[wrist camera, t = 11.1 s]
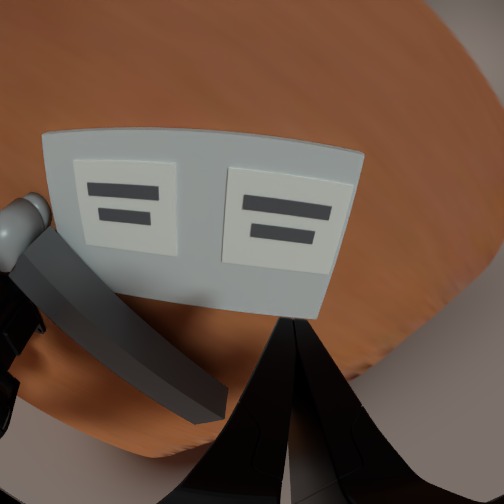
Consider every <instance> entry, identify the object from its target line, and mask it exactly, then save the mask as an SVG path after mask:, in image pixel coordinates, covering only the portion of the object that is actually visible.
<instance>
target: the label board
mask: <svg viewBox="0 0 504 504" xmlns="http://www.w3.org/2000/svg"><path fill="white" fill-rule="evenodd" d="M42 144H43V153H44V161H45V169H46V176H47V182H48V189H49V194H50V200H51V205H52V210H53V215H54V220H55V224H56V229H57V233H58V235H59V236H60V237H61V238H62V239H63V240H64V241H65V242H66V244H67V245H68V246H69V247H70V248H71V249H72V250H73V251H74V252H75V253H76V255H77V256H78V257H79V258H80V259H81V260H82V261H83V262H84V263H85V264H86V265H87V266H88V267H89V268H90V269H91V270H92V271H93V272H94V273H95V274H96V276H97V277H98V278H99V279H100V280H101V281H102V282H103V283H104V284H105V285H106V286H108V287H109V288H110V289H111V290H112V291H113V292H114V293H120V294H125V295H131V296H137V297H143V298H148V299H154V300H161V301H167V302H173V303H180V304H187V305H194V306H201V307H208V308H215V309H223V310H231V311H239V312H247V313H256V314H265V315H275V316H285V317H296V318H307V319H317V316H318V313H319V311H320V308H321V305H322V302H323V299H324V296H325V293H326V290H327V287H328V284H329V281H330V278H331V275H332V272H333V269H334V266H335V262H336V259H337V256H338V253H339V250H340V246H341V243H342V240H343V236H344V233H345V229H346V226H347V222H348V219H349V215H350V212H351V208H352V204H353V200H354V197H355V193H356V189H357V185H358V181H359V177H360V173H361V169H362V165H363V161H364V156H365V155H364V154H363V153H362V152H361V151H356V150H351V149H346V148H341V147H336V146H331V145H326V144H320V143H314V142H308V141H302V140H296V139H289V138H282V137H275V136H267V135H259V134H250V133H240V132H230V131H218V130H204V129H186V128H153V127H124V128H93V129H76V130H62V131H51V132H47V133H44V134H42ZM23 198H25V199H27V200H29V201H30V202H31V203H32V204H33V205H34V206H35V207H36V209H37V210H38V212H39V214H40V216H41V218H42V221H43V231H44V230H45V229H46V228H47V227H49V225H50V224H51V220H52V214H51V209H50V207H49V205H48V203H47V201H46V200H45V199H44V198H43V197H42V196H41V195H40V194H38V193H35V192H31V193H28V194H27V195H26V196H24V197H23Z"/></svg>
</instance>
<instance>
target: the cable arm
mask: <svg viewBox="0 0 504 504" xmlns="http://www.w3.org/2000/svg"><path fill="white" fill-rule="evenodd" d="M12 268H13V269H12ZM11 269H12V270H11ZM10 270H11V272H10V274H9V275H8V276H9V277H10V278H11V279H12V280H13V282H14V283H15V284H16V285H17V286H18V287H19V288H20V289H21V290H22V291H23V292H24V293H25V294H26V296H27V297H28V298H29V299H30V300H31V301H32V302H33V303H34V304H35V305H36V306H37V307H38V308H39V309H40V310H41V311H42V312H43V313H44V314H45V315H46V316H47V317H49V318H50V319H51V320H52V321H53V322H54V323H55V324H56V325H57V326H58V327H59V328H60V329H61V330H63V331H64V332H65V333H66V334H67V335H68V336H69V337H71V338H72V339H73V340H74V341H75V342H76V343H77V344H79V345H80V346H81V347H82V348H83V349H85V350H86V351H87V352H88V353H90V354H91V355H92V356H93V357H95V358H96V359H97V360H98V361H100V362H101V363H102V364H103V365H105V366H106V367H107V368H109V369H110V370H111V371H113V372H114V373H115V374H117V375H118V376H119V377H121V378H122V379H124V380H125V381H126V382H128V383H129V384H131V385H132V386H134V387H135V388H136V389H138V390H139V391H141V392H142V393H144V394H145V395H147V396H148V397H150V398H151V399H153V400H155V401H156V402H158V403H159V404H161V405H162V406H164V407H166V408H167V409H169V410H171V411H172V412H174V413H176V414H177V415H179V416H181V417H182V418H184V419H186V420H188V421H189V422H191V423H193V424H201V423H207V422H212V421H218V420H223V419H225V411H226V403H227V395H228V387H226V386H225V385H223V384H222V383H221V382H219V381H218V380H217V379H215V378H214V377H212V376H211V375H210V374H208V373H207V372H206V371H205V370H203V369H202V368H201V367H199V366H198V365H197V364H195V363H194V362H193V361H192V360H190V359H189V358H188V357H187V356H185V355H184V354H183V353H182V352H180V351H179V350H178V349H177V348H175V347H174V346H173V345H172V344H171V343H169V342H168V341H167V340H166V339H165V338H163V337H162V336H161V335H160V334H159V333H158V332H156V331H155V330H154V329H153V328H152V327H151V326H149V325H148V324H147V323H146V322H145V321H144V320H143V319H142V318H140V317H139V316H138V315H137V314H136V313H135V312H134V311H133V310H132V309H131V308H130V307H128V306H127V305H126V304H125V303H124V302H123V301H122V300H121V299H120V298H119V297H118V296H117V295H116V294H115V293H114V292H113V291H112V290H111V289H110V288H109V287H108V286H106V285H105V284H104V283H103V282H102V281H101V280H100V279H99V278H98V277H97V276H96V274H95V273H94V272H93V271H92V270H91V269H90V268H89V267H88V266H87V265H86V264H85V263H84V262H83V261H82V260H81V259H80V258H79V257H78V256H77V255H76V253H75V252H74V251H73V250H72V249H71V248H70V247H69V246H68V245H67V244H66V242H65V241H64V240H63V239H62V238H61V237H60V236H59V235H58V233H57V232H56V231H55V230H54V229H53V228H52V226H51V225H50V226H49V227H48V228H47V229H46V230H45V231H44V232H43V221H42V218H41V216H40V214H39V212H38V210H37V209H36V207H35V206H34V205H33V204H32V203H31V202H30V201H29V200H27V199H25V198H17V199H15V200H14V201H12V202H11V203H10V204H9V205H7V206H6V207H5V208H3V209H2V210H1V211H0V271H2V272H9V271H10Z"/></svg>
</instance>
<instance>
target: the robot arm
mask: <svg viewBox="0 0 504 504" xmlns="http://www.w3.org/2000/svg"><path fill="white" fill-rule="evenodd" d="M9 274H10V273H9V272H2V271H0V438H1V437H2V436H3V435H4V434H5V432H6V431H7V429H8V426H9V424H10V420H11V416H12V411H13V407H14V403H15V399H16V396H17V392H18V389H19V385H20V382H19V381H18V380H17V379H16V378H14V377H13V376H12V375H11V374H10V373H9V372H8V369H9V368H10V366H11V364H12V362H13V361H14V359H15V357H16V356H19V355H20V354H21V352H22V351H23V349H24V347H25V346H26V344H27V342H28V341H29V339H30V337H31V336H32V334H33V333H34V331H35V332H38V333H41V334H44V332H45V331H46V329H45V327H44V325H43V322H42V320H41V318H40V316H39V314H38V312H37V310H36V307H35V305H34V303H33V302H32V301H31V300H30V299H29V298H28V297H27V296H26V294H25V293H24V292H23V291H22V290H21V289H20V288H19V287H18V286H17V285H16V284H15V283H14V282H13V280H12V279H11V278H10V277H9V276H8V275H9ZM361 406H362V404H361V402H360V401H359V399H358V398H357V396H356V395H355V393H354V391H353V390H352V389H351V387H350V385H349V384H348V382H347V381H346V379H345V377H344V376H343V374H342V373H341V371H340V370H339V368H338V367H337V365H336V364H335V362H334V361H333V359H332V357H331V356H330V354H329V353H328V351H327V350H326V348H325V347H324V345H323V344H322V342H321V341H320V339H319V338H318V336H317V334H316V333H315V331H314V330H313V328H312V327H311V325H310V324H309V322H308V321H307V320H306V319H298V318H294V319H293V320H292V318H287V317H279V318H278V320H277V322H276V325H275V327H274V329H273V331H272V333H271V335H270V338H269V340H268V342H267V344H266V346H265V348H264V350H263V352H262V354H261V357H260V359H259V361H258V363H257V365H256V367H255V369H254V371H253V373H252V375H251V377H250V379H249V381H248V383H247V385H246V387H245V389H244V391H243V393H242V395H241V397H240V399H239V402H238V403H237V405H236V407H235V409H234V411H233V413H232V414H231V416H230V418H229V420H228V421H227V423H226V425H225V427H224V428H223V430H222V431H221V432H220V434H219V435H218V437H217V438H216V440H215V441H214V442H213V444H212V445H211V446H210V448H209V449H208V450H207V451H206V453H205V454H204V456H203V457H202V458H201V459H200V461H199V462H198V463H197V464H196V465H195V467H194V468H193V469H192V470H191V472H190V473H189V474H188V475H187V477H185V479H184V480H183V481H182V482H181V483H180V484H179V485H178V486H177V487H176V488H175V489H174V490H173V491H172V492H170V493H169V494H168V495H167V496H166V497H164V498H163V499H162V500H161V501H159V502H158V503H157V504H280V497H281V487H282V480H283V474H284V466H285V458H286V451H287V443H288V448H289V466H290V484H291V504H504V495H502V496H499V497H497V498H495V499H493V500H491V501H488V502H486V503H484V502H477V501H473V500H471V499H468V498H465V497H463V496H460V495H457V494H455V493H452V492H450V491H447V490H445V489H442V488H440V487H437V486H435V485H433V484H430V483H428V482H426V481H425V480H423V479H422V478H420V477H419V476H418V475H417V474H416V473H415V472H414V471H413V470H412V469H411V468H410V467H409V466H408V465H407V463H406V462H405V461H404V460H403V459H402V457H401V456H400V455H399V454H398V453H397V451H396V450H395V449H394V448H393V447H392V446H391V444H390V443H389V442H388V441H387V439H386V438H385V437H384V435H382V433H381V432H380V430H379V429H378V428H377V426H376V425H375V423H374V422H373V421H372V419H371V418H370V416H369V414H368V413H367V411H366V410H365V408H364V407H363V406H362V407H361ZM0 504H25V503H23V502H22V501H20V500H18V499H17V498H15V497H14V496H12V495H11V494H9V493H8V492H6V491H5V490H3V489H2V488H0Z"/></svg>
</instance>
